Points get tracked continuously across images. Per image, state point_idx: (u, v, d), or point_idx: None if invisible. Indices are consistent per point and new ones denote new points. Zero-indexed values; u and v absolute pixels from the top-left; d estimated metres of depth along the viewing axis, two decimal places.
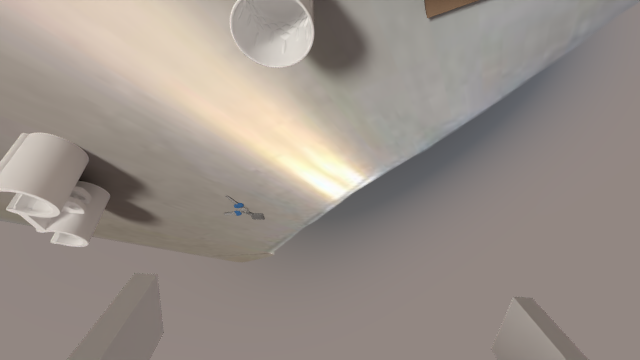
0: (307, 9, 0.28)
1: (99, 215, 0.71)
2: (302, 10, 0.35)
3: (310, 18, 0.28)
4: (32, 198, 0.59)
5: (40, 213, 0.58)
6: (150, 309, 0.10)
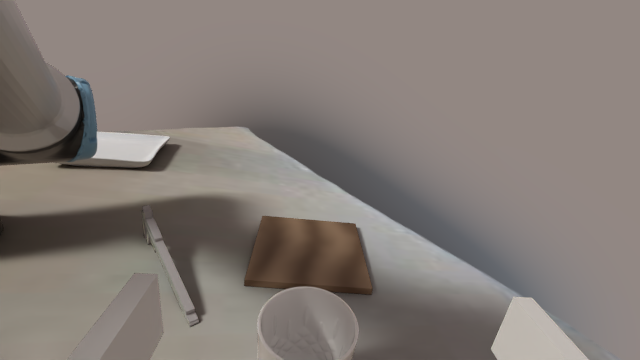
0: None
1: None
2: None
3: (310, 287, 0.28)
4: None
5: None
6: (150, 309, 0.10)
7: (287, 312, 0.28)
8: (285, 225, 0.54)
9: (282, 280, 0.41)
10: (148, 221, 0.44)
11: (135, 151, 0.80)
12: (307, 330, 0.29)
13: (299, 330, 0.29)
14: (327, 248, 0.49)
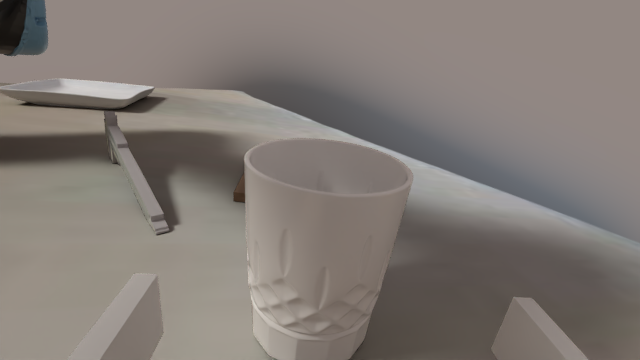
0: None
1: None
2: None
3: (326, 140, 0.18)
4: None
5: None
6: (150, 309, 0.10)
7: (292, 179, 0.18)
8: None
9: None
10: (111, 128, 0.35)
11: (113, 97, 0.70)
12: None
13: None
14: None
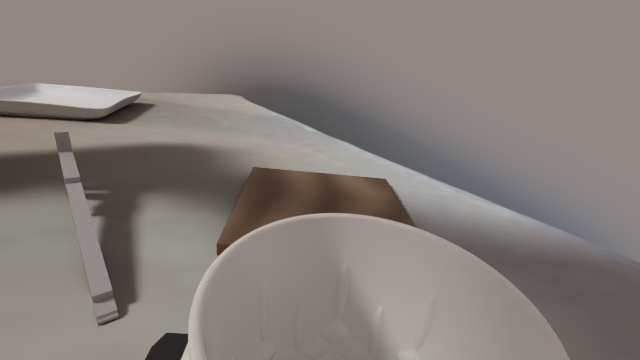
0: None
1: None
2: None
3: (354, 215, 0.11)
4: None
5: None
6: None
7: (296, 281, 0.11)
8: (286, 178, 0.37)
9: None
10: (61, 155, 0.27)
11: (94, 105, 0.63)
12: (344, 328, 0.12)
13: (325, 328, 0.12)
14: (351, 205, 0.32)
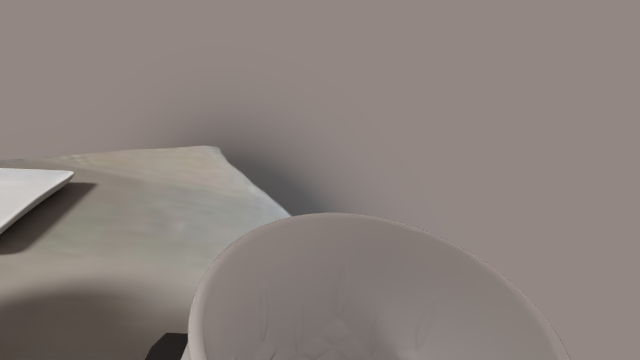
0: None
1: None
2: None
3: (354, 214, 0.11)
4: None
5: None
6: None
7: (296, 281, 0.11)
8: None
9: None
10: None
11: None
12: (344, 328, 0.12)
13: (325, 328, 0.12)
14: None
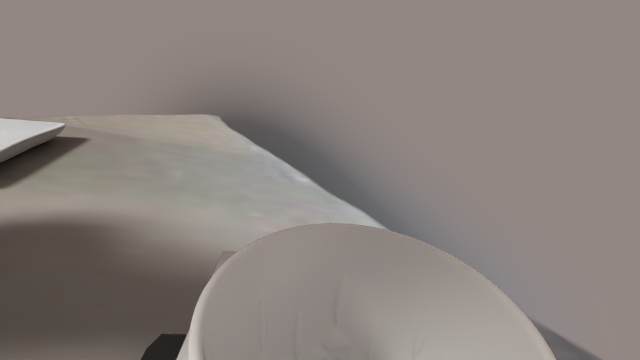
0: None
1: None
2: None
3: (353, 225, 0.11)
4: None
5: None
6: None
7: (295, 291, 0.11)
8: None
9: None
10: None
11: None
12: (343, 337, 0.12)
13: (324, 337, 0.12)
14: None
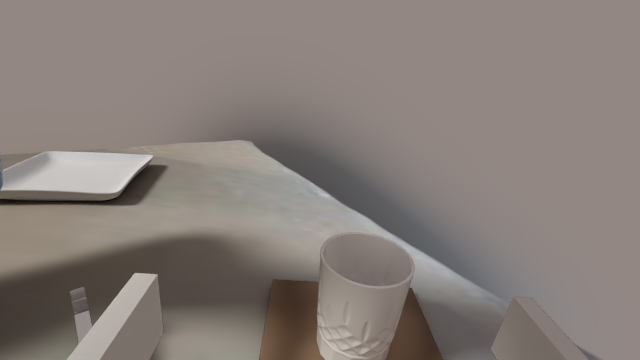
0: None
1: None
2: None
3: (361, 232, 0.30)
4: None
5: None
6: (150, 309, 0.10)
7: (340, 256, 0.30)
8: (308, 298, 0.35)
9: None
10: (77, 319, 0.25)
11: (106, 176, 0.62)
12: (358, 276, 0.31)
13: (350, 276, 0.31)
14: None
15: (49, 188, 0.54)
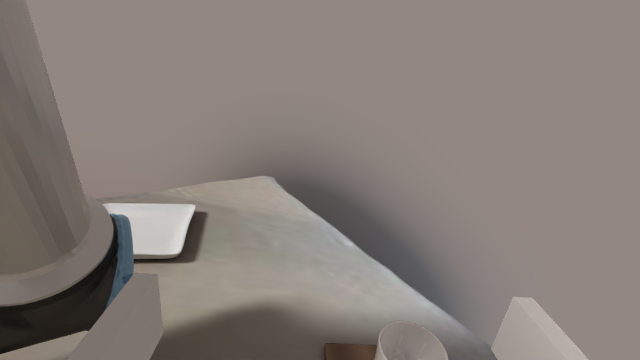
0: None
1: None
2: None
3: (404, 321, 0.39)
4: None
5: None
6: (150, 309, 0.10)
7: (388, 339, 0.39)
8: None
9: None
10: None
11: (159, 228, 0.70)
12: (399, 351, 0.41)
13: (393, 351, 0.41)
14: None
15: None
